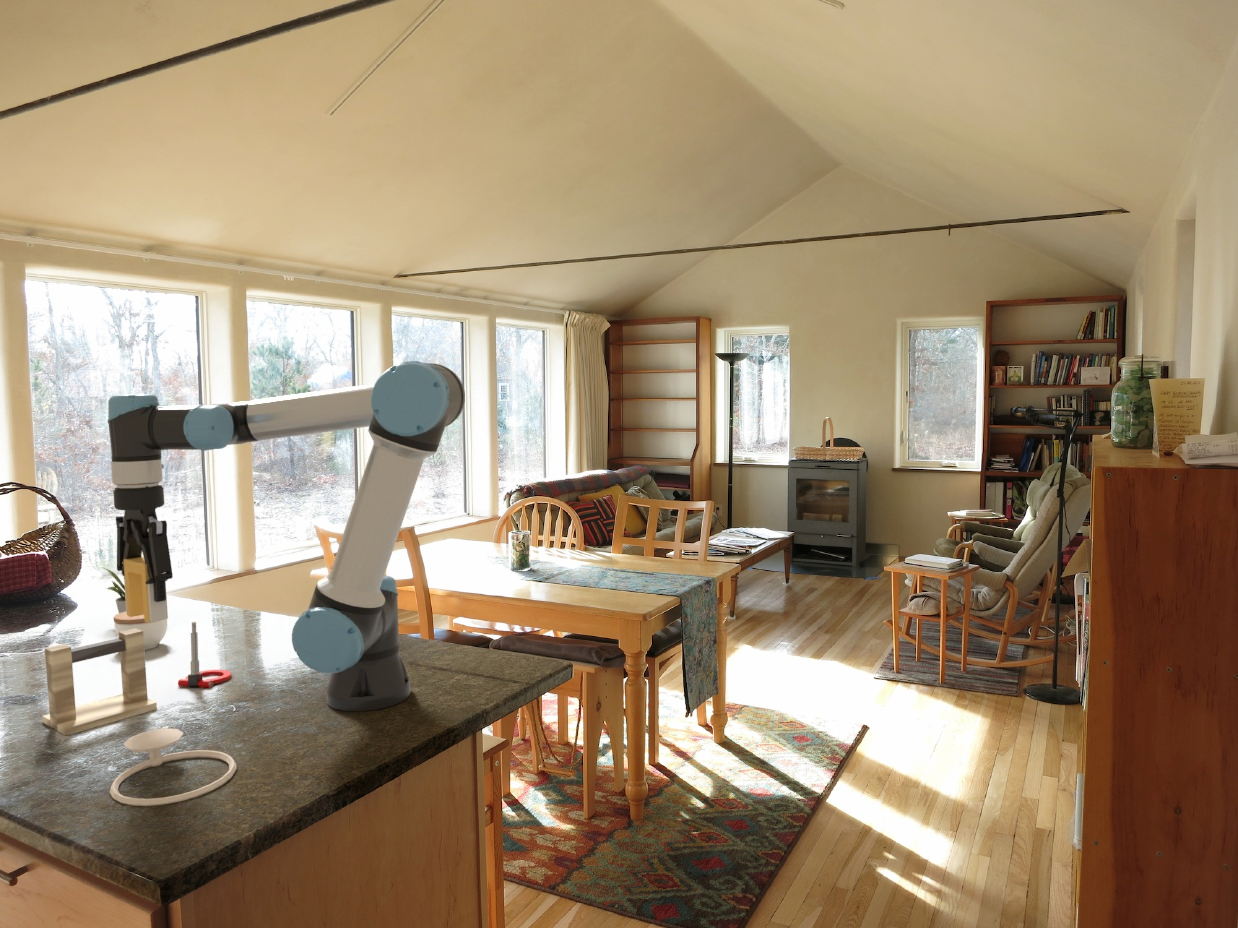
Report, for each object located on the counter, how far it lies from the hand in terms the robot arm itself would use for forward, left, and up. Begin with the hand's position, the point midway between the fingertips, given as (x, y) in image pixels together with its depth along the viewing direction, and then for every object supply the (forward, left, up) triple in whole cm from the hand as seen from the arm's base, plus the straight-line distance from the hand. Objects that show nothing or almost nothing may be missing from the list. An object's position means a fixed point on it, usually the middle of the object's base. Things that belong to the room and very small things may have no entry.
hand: (146, 615), depth 151 cm
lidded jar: (+50, -20, -19) cm, 57 cm away
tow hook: (+15, -17, -20) cm, 30 cm away
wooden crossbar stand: (+12, +4, -19) cm, 23 cm away
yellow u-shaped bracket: (0, 0, 0) cm, 0 cm away
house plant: (+73, -29, -19) cm, 81 cm away
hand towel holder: (-24, +8, -20) cm, 32 cm away
